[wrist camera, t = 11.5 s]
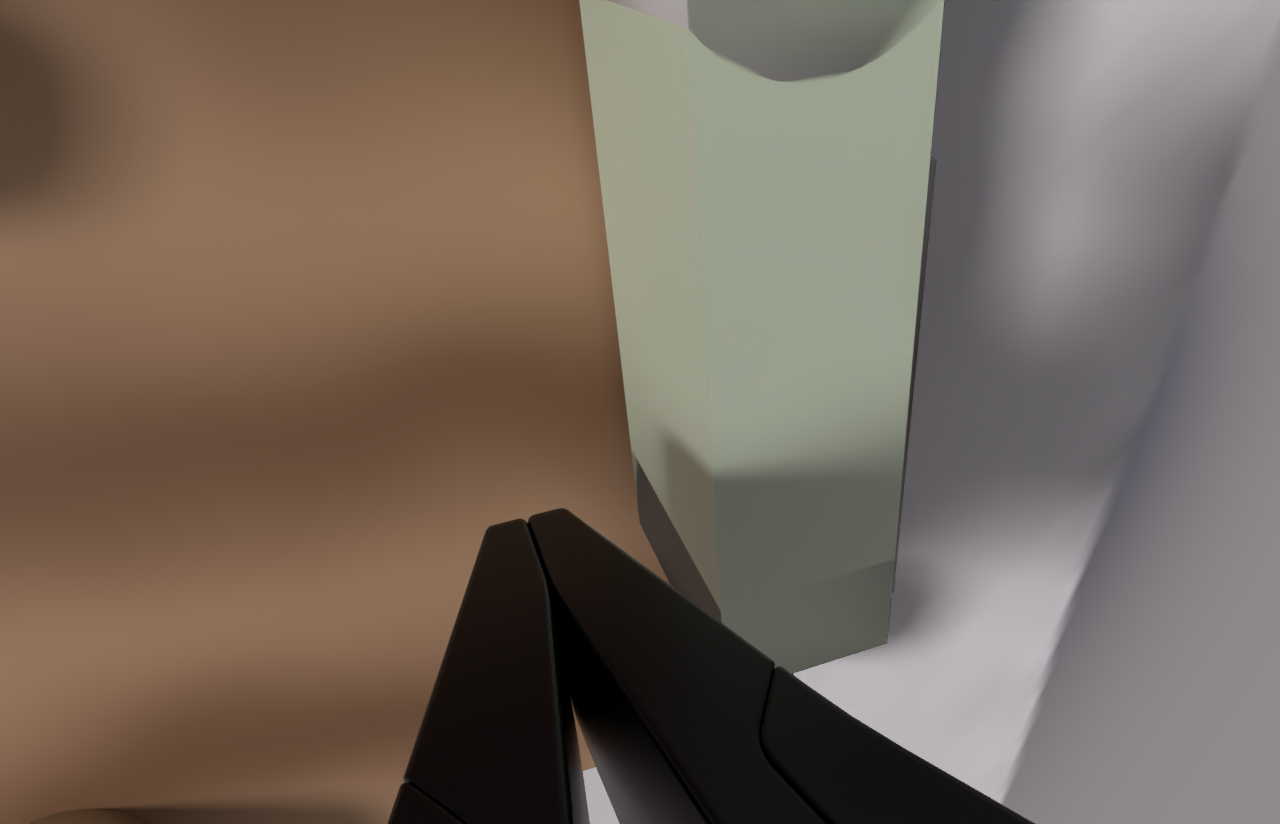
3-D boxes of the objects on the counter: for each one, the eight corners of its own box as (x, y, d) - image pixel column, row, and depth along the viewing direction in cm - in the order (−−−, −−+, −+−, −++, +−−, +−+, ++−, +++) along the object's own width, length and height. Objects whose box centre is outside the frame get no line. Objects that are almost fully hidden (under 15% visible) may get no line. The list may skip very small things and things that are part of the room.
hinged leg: (515, -272, 9) (619, -372, 6) (789, -293, 10) (1018, -390, 7) (620, 528, 15) (701, 702, 12) (788, 483, 16) (909, 636, 12)
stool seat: (766, 638, 21) (898, 861, 16) (41, 857, 18) (-71, 1223, 13) (759, -299, 12) (1072, -448, 7) (-797, -215, 8) (-2455, -386, 3)
